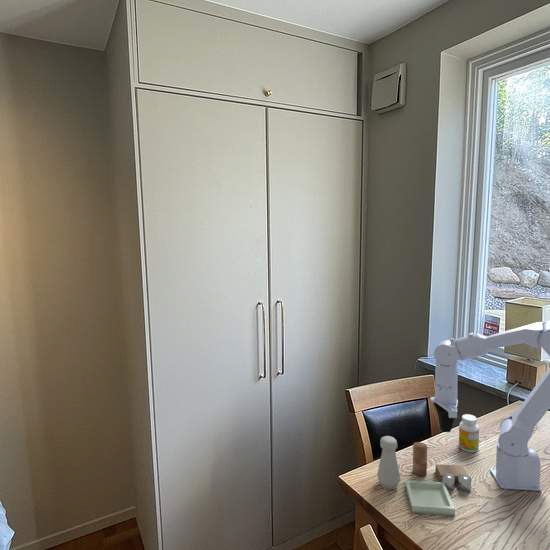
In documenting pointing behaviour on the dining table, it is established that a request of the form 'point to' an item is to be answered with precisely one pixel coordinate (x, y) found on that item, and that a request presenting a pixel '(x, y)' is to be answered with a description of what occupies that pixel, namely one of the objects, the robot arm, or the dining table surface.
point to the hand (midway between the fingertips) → (445, 429)
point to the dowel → (420, 459)
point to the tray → (429, 498)
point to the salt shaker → (388, 464)
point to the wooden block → (449, 471)
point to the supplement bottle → (469, 433)
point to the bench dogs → (463, 482)
